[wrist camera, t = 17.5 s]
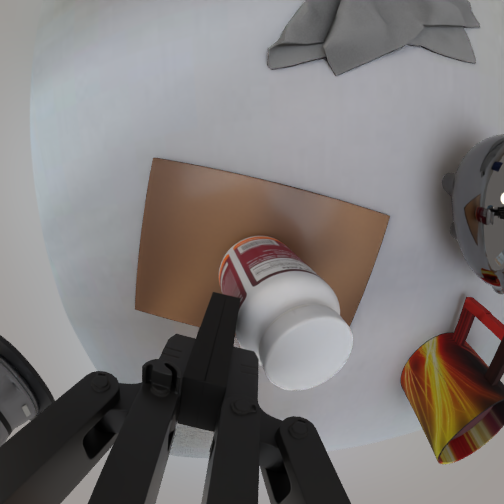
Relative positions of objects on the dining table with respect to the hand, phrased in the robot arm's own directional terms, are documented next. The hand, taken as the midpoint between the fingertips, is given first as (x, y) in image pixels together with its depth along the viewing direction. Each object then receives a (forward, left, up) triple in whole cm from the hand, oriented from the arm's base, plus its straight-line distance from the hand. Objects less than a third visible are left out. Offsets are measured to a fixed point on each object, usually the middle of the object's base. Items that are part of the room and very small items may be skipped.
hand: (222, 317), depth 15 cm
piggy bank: (+21, +11, -10) cm, 25 cm away
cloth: (+8, +27, -10) cm, 30 cm away
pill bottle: (+2, 0, -9) cm, 9 cm away
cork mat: (+2, 0, -10) cm, 10 cm away
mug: (+25, -6, -10) cm, 27 cm away
